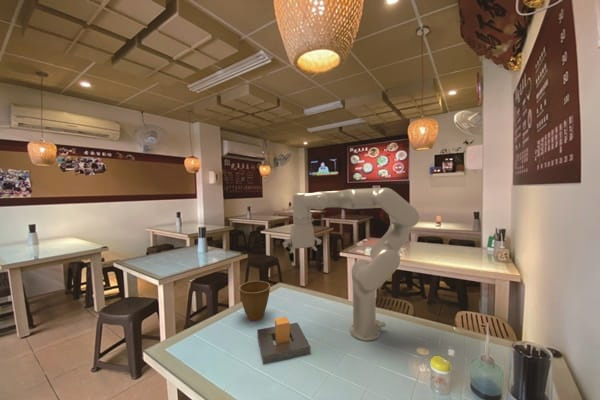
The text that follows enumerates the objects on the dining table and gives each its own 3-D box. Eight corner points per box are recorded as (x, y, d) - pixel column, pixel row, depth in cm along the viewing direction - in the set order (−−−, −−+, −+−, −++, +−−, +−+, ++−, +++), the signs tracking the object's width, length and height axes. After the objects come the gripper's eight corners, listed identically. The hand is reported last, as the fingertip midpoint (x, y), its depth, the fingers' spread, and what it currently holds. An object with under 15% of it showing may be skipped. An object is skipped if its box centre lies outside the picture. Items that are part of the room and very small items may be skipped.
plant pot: (234, 324, 117) (233, 290, 116) (248, 309, 131) (247, 279, 131) (264, 327, 114) (263, 293, 113) (274, 312, 128) (274, 281, 127)
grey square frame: (297, 328, 112) (297, 322, 112) (310, 353, 95) (310, 346, 95) (257, 336, 107) (257, 329, 107) (263, 364, 90) (263, 356, 89)
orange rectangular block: (287, 340, 104) (286, 316, 104) (290, 347, 99) (289, 322, 99) (275, 342, 103) (274, 318, 102) (277, 349, 98) (277, 324, 97)
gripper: (317, 219, 113) (318, 256, 113) (280, 221, 108) (281, 260, 108) (324, 221, 106) (324, 260, 106) (284, 223, 101) (285, 265, 101)
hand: (302, 260), depth 107 cm, fingers open, 9 cm apart
